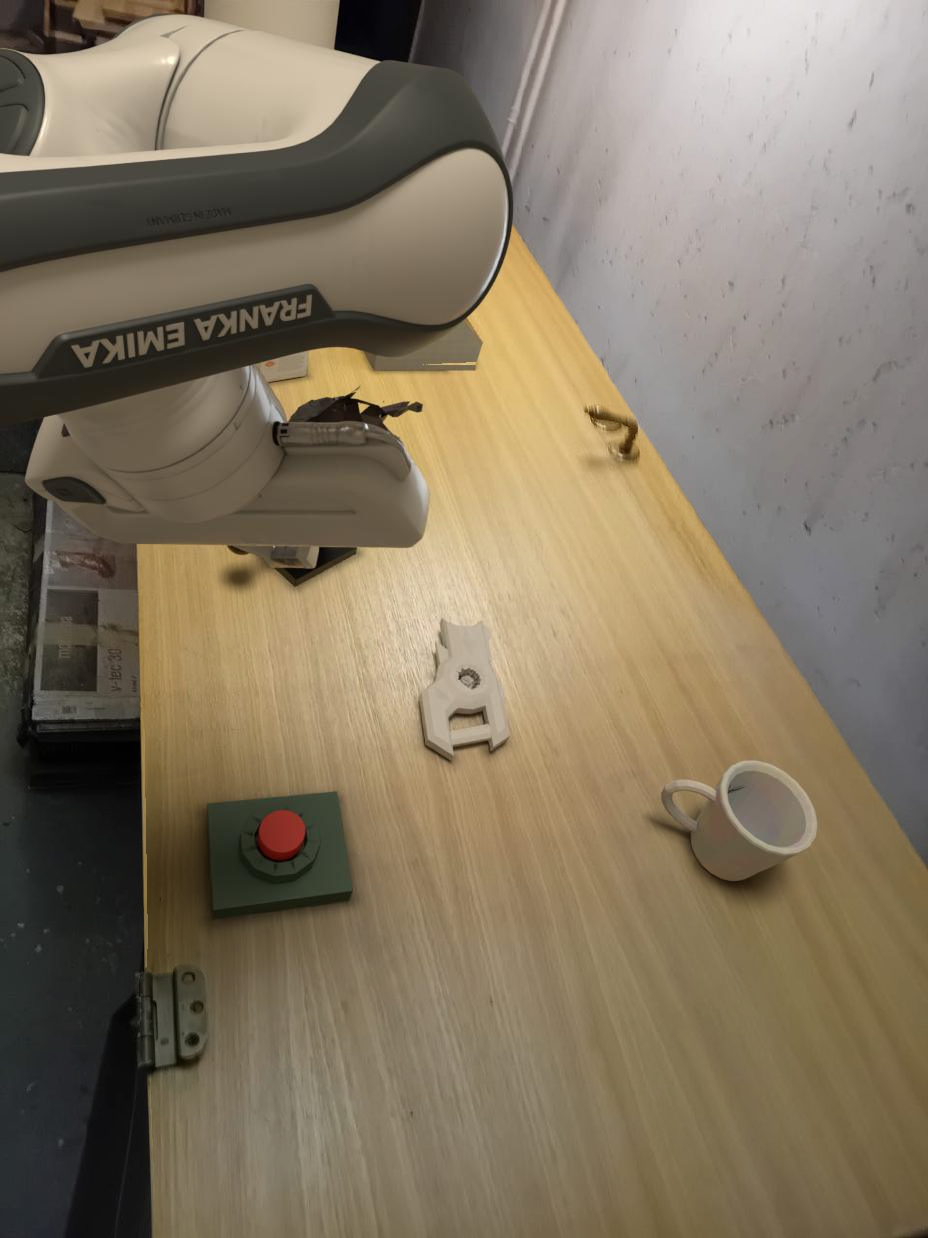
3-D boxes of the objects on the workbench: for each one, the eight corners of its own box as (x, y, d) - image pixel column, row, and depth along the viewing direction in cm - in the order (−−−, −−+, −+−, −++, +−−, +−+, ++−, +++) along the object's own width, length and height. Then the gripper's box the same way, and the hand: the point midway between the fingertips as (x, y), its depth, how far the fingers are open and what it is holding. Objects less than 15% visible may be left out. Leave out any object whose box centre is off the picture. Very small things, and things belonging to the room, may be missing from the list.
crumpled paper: (393, 440, 119) (254, 447, 112) (412, 359, 108) (257, 360, 100) (419, 513, 112) (272, 524, 105) (441, 434, 101) (278, 441, 94)
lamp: (316, 250, 152) (350, -21, 121) (200, 231, 145) (204, -59, 115) (309, 199, 164) (338, -57, 134) (201, 180, 158) (206, -94, 128)
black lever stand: (295, 586, 97) (308, 500, 87) (246, 541, 100) (253, 452, 90) (356, 553, 104) (374, 469, 94) (308, 511, 106) (322, 425, 96)
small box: (286, 353, 128) (295, 274, 118) (306, 376, 125) (316, 298, 116) (238, 360, 124) (243, 279, 114) (257, 385, 121) (264, 303, 111)
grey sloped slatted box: (477, 370, 139) (499, 298, 129) (373, 370, 131) (388, 294, 121) (418, 276, 155) (433, 206, 146) (322, 271, 147) (332, 197, 138)
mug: (766, 910, 85) (821, 870, 78) (633, 858, 85) (675, 813, 78) (767, 824, 92) (817, 780, 85) (644, 777, 92) (683, 729, 85)
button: (259, 863, 71) (261, 855, 70) (255, 821, 73) (257, 812, 72) (305, 858, 72) (308, 849, 71) (300, 816, 75) (302, 807, 74)
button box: (212, 920, 71) (213, 902, 68) (206, 814, 76) (207, 793, 74) (349, 900, 75) (356, 882, 72) (334, 801, 81) (339, 781, 78)
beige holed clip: (413, 610, 95) (494, 614, 98) (406, 627, 97) (485, 630, 100) (433, 750, 84) (523, 750, 87) (425, 766, 87) (512, 765, 90)
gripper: (403, 370, 39) (459, 516, 51) (34, 382, 43) (168, 514, 56) (383, 483, 37) (447, 607, 49) (-5, 484, 41) (144, 598, 54)
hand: (296, 558), depth 53 cm, fingers closed
